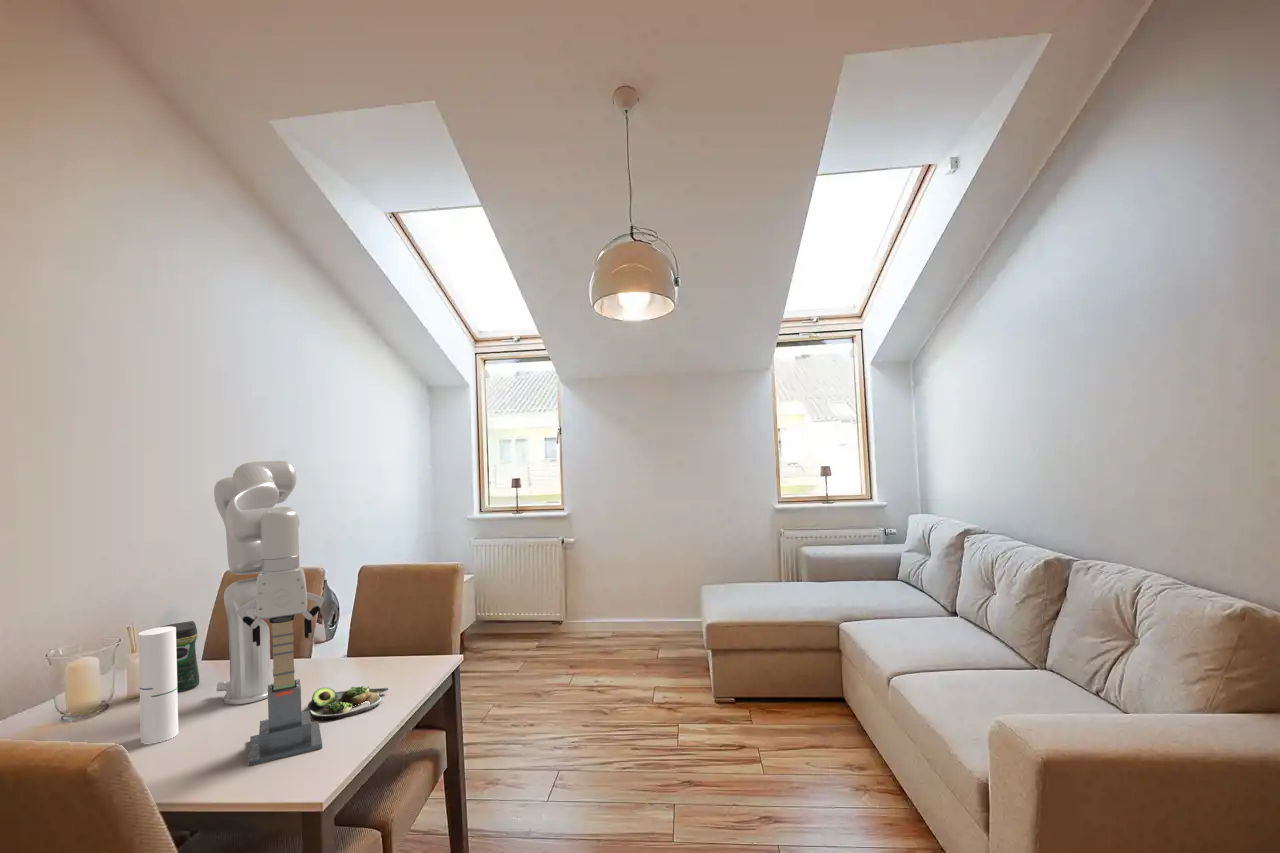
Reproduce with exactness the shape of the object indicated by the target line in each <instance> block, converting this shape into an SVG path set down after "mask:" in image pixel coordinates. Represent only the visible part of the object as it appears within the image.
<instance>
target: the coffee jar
mask: <svg viewBox="0 0 1280 853" xmlns="http://www.w3.org/2000/svg"><path fill="white" fill-rule="evenodd" d="M196 625H197V624H196V623H195V621H193V620H191V621H185V622H177V623H171V624H167V625H161V626H160V627H169V626H172V627H176V653H177V693H179V692H184V691H187V690H188V691H189V690H191V689H193V688H196V687H197V686H199V684H200V673H199V666H198V660H197V654H196V652H197V651H196V650H197V649H196V642H197V640H198V628H197V626H196Z"/></svg>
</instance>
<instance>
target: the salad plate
mask: <svg viewBox="0 0 1280 853" xmlns="http://www.w3.org/2000/svg"><path fill="white" fill-rule="evenodd" d="M388 690H389V687H383V688H382V687H381V688H380V687H378V688H370V686H369V685H368V686H367V687H364V685H362V686H357V687H356V686H352V687H351V688H349V689H348V690H344V691H335V690H334V689H332V688H330V687H320V688H317V689H316V690H315V691H314V692H313V694H312V696H311V700H310V701H308V703H307V708H308V710H307V711H309V713H310V718H311V719H313V720H315V721H319V722H320V721H323V722H324V721H325V722H326V721H332V720H333V719H334V720H339V719H342V717H343V718H346V717H349V715H350V716H353V714H354V715H357V714H360V713H363V712H366V711H369V710H372V709H374V708H375V707H377V706H378V705H379V704H380V703H382V700H383V699H382V697H381V696H380V694H382V693H384V692H387V691H388ZM365 701H369V702H370V705H369V704H367V706H364V707H361V708H358V709H355V710H353V708H354V707H353V706H355V705H358V704H361V703H363V702H365ZM376 705H377V706H376ZM358 706H359V705H358ZM352 707H353V708H352ZM355 707H356V706H355ZM373 707H374V708H373ZM371 708H372V709H371ZM368 709H369V710H368ZM365 710H366V711H365ZM362 711H363V712H362ZM359 712H360V713H359ZM356 713H357V714H356ZM338 718H339V719H338Z"/></svg>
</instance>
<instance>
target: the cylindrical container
mask: <svg viewBox="0 0 1280 853" xmlns="http://www.w3.org/2000/svg"><path fill="white" fill-rule="evenodd" d="M137 636H138V638H137V640H138V676H139V682H138V683H139V712H140V713H139V718H140V719H139V720H140V721H139V722H140V728H139V729H140V743H141V742H142V743H154V742H160V741H164V740H167V739H170V738H172V739H174V738H175V736H176V735H177V734H178V735H179V707H178V706H179V705H178V704H179V701H178V698H179V697H178V696H179V695H178V693H179V692H177V653H176V627H172V626H169V627H161V626H160V627H159V626H158V627H154V628H150V629H146V630H142V631H140V632H138V634H137ZM178 735H177V736H178ZM177 736H176V737H177ZM173 737H174V738H173ZM170 740H171V739H170ZM167 741H168V740H167ZM164 742H165V741H164ZM142 743H141V744H142Z"/></svg>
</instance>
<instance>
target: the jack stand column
mask: <svg viewBox="0 0 1280 853" xmlns="http://www.w3.org/2000/svg"><path fill="white" fill-rule="evenodd" d="M295 619H296V615H290V616H284V617H277V618H270V619H268V623H270V624H272V625H271V626H272V627H271V628H272V629H271V630H272V631H271V637H272V641H271V643H272V644H271V646H272V647H271V648H272V661H273V663H272V666H273V668H272V669H273V670H272V677H273V682H272V683H273V689H274V692H275V691H280V690H285V689H291V688H294V686H295V680H296V679H295V662H294V661H295V660H294V659H295V657H294V654H295V648H294V643H295V642H294V628H293V627H294V623H293V621H294V620H295Z"/></svg>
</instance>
